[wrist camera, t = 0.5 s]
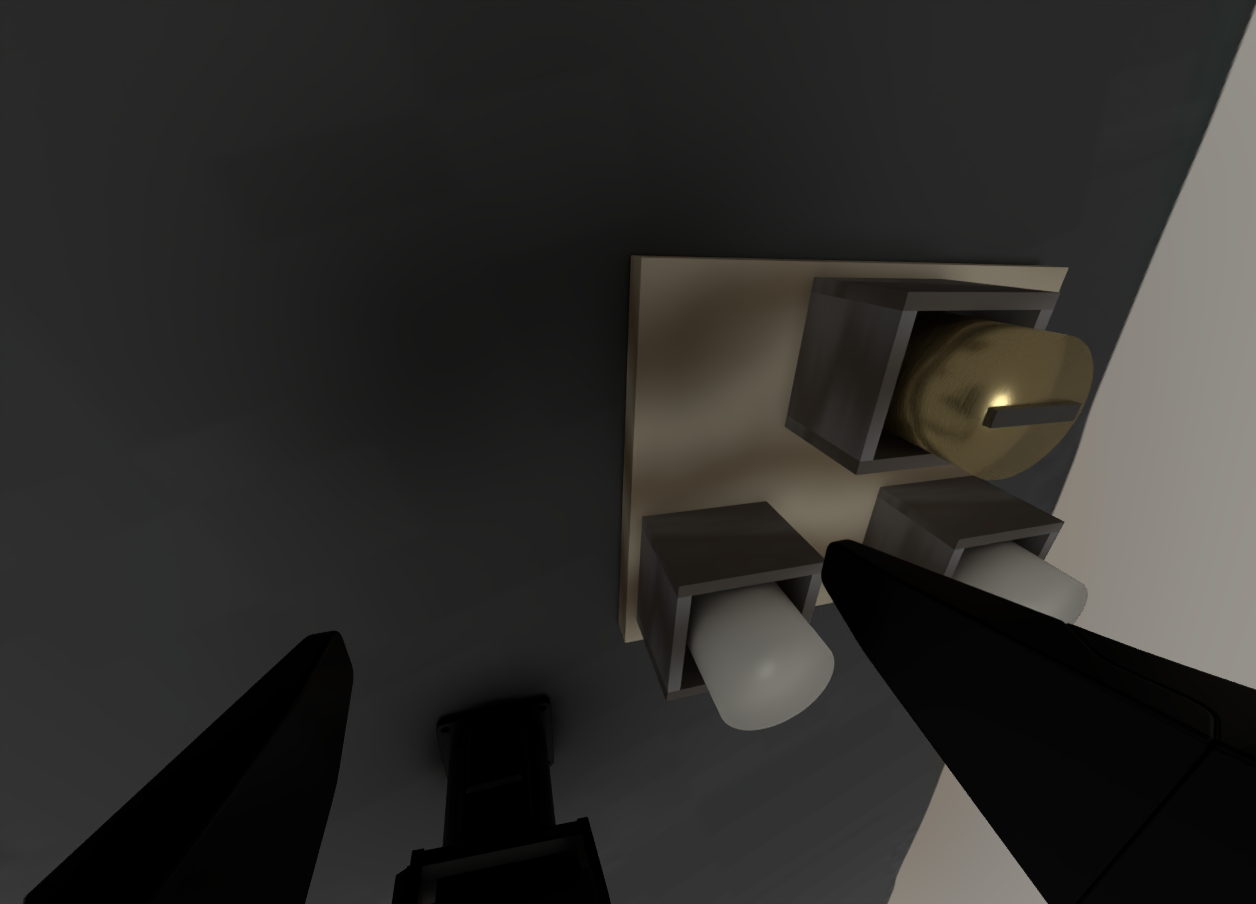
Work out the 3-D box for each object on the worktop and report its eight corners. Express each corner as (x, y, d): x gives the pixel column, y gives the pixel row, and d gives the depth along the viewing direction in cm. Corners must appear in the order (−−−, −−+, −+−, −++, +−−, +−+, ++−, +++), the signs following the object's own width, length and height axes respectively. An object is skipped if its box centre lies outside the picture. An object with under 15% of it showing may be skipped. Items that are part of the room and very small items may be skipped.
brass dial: (934, 421, 21) (1059, 476, 16) (841, 429, 20) (948, 491, 15) (974, 308, 19) (1131, 334, 14) (872, 309, 17) (1008, 338, 13)
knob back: (967, 584, 27) (1057, 651, 23) (899, 597, 26) (980, 671, 22) (1000, 514, 25) (1105, 573, 21) (927, 525, 24) (1023, 591, 20)
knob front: (759, 626, 24) (818, 714, 20) (669, 644, 23) (711, 742, 18) (776, 548, 22) (847, 628, 17) (677, 564, 21) (727, 654, 16)
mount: (918, 568, 33) (1007, 639, 27) (618, 622, 27) (652, 727, 21) (1037, 265, 24) (1206, 277, 18) (630, 255, 18) (693, 268, 13)
